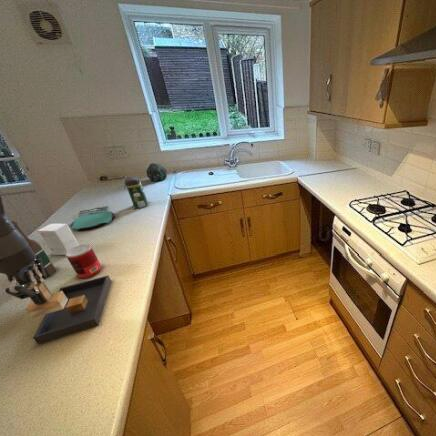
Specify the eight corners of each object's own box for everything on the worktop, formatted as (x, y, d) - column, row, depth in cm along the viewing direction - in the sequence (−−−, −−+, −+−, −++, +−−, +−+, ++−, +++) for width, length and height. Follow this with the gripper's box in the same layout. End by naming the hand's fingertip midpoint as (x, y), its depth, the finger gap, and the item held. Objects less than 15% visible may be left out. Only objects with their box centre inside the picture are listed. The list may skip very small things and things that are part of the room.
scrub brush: (32, 318, 67) (14, 296, 62) (38, 307, 70) (21, 286, 66) (63, 309, 69) (47, 287, 65) (68, 299, 72) (53, 278, 68)
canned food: (104, 263, 101) (93, 242, 96) (98, 275, 94) (86, 253, 89) (83, 268, 99) (70, 246, 93) (75, 281, 92) (61, 258, 87)
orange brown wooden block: (69, 314, 78) (65, 307, 76) (73, 305, 81) (69, 298, 79) (84, 309, 79) (80, 303, 78) (88, 301, 82) (84, 294, 81)
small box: (81, 247, 112) (67, 223, 106) (68, 255, 107) (54, 231, 101) (65, 246, 113) (51, 223, 107) (52, 255, 108) (36, 230, 101)
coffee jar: (134, 204, 155) (124, 176, 146) (148, 201, 158) (138, 174, 149) (133, 209, 147) (122, 181, 138) (148, 206, 150) (138, 178, 142)
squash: (167, 168, 205) (150, 158, 194) (172, 173, 195) (155, 162, 184) (157, 182, 204) (139, 172, 192) (162, 187, 194) (144, 177, 183)
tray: (38, 344, 69) (32, 338, 68) (64, 294, 86) (60, 287, 85) (98, 325, 74) (94, 318, 73) (111, 281, 92) (108, 275, 90)
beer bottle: (35, 271, 98) (-1, 220, 86) (59, 265, 101) (27, 215, 89) (27, 283, 92) (-13, 230, 80) (53, 276, 95) (18, 224, 83)
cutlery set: (69, 235, 122) (67, 231, 121) (76, 213, 145) (75, 210, 144) (115, 224, 132) (113, 220, 130) (115, 205, 154) (114, 202, 153)
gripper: (2, 239, 64) (37, 287, 72) (-34, 270, 52) (13, 323, 61) (38, 232, 66) (68, 279, 74) (11, 260, 55) (50, 312, 63)
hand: (43, 299), depth 68 cm, fingers closed on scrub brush, 2 cm apart
